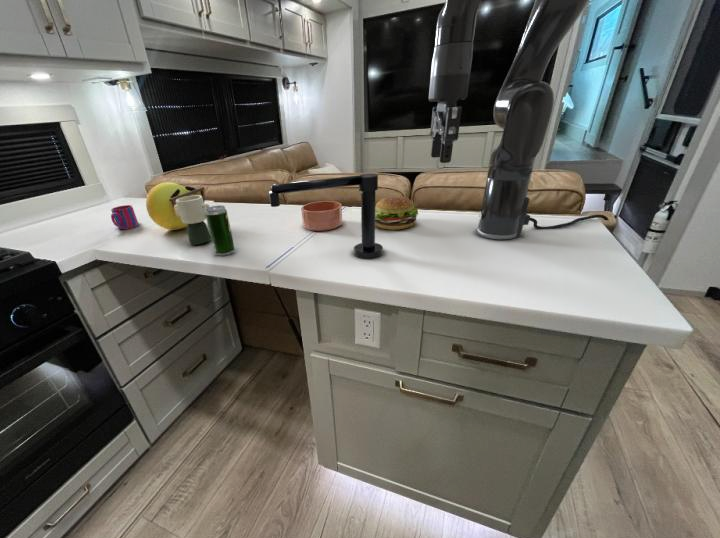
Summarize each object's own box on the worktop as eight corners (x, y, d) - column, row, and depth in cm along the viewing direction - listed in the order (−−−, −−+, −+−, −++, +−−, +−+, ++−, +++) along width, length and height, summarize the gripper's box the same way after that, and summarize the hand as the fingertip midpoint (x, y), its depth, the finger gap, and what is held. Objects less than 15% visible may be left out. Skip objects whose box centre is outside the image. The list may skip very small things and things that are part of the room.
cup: (142, 223, 121) (136, 204, 117) (124, 232, 112) (116, 212, 109) (126, 223, 122) (119, 205, 119) (107, 232, 114) (99, 213, 110)
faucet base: (380, 247, 84) (382, 186, 76) (384, 258, 78) (386, 193, 70) (353, 248, 85) (351, 188, 77) (354, 259, 79) (353, 195, 71)
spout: (374, 192, 76) (374, 172, 74) (379, 196, 73) (380, 175, 70) (270, 203, 74) (267, 183, 72) (270, 208, 71) (267, 187, 68)
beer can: (219, 257, 86) (207, 212, 80) (212, 252, 90) (201, 208, 84) (238, 252, 88) (228, 207, 82) (231, 247, 92) (221, 204, 86)
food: (368, 218, 106) (368, 192, 102) (413, 216, 103) (415, 190, 99) (368, 232, 94) (368, 204, 90) (419, 231, 92) (421, 202, 88)
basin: (342, 218, 108) (341, 199, 105) (342, 230, 97) (342, 210, 94) (305, 220, 108) (303, 202, 105) (301, 233, 98) (299, 213, 95)
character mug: (223, 238, 99) (212, 194, 93) (212, 246, 93) (200, 200, 87) (190, 238, 102) (178, 195, 95) (178, 247, 96) (164, 201, 89)
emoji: (182, 238, 102) (167, 188, 95) (143, 235, 108) (126, 188, 100) (212, 222, 115) (201, 177, 107) (177, 220, 120) (164, 177, 113)
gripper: (482, 68, 60) (466, 163, 68) (459, 74, 72) (448, 154, 80) (439, 71, 60) (429, 165, 69) (424, 77, 73) (417, 156, 81)
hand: (440, 159), depth 74 cm, fingers open, 8 cm apart
